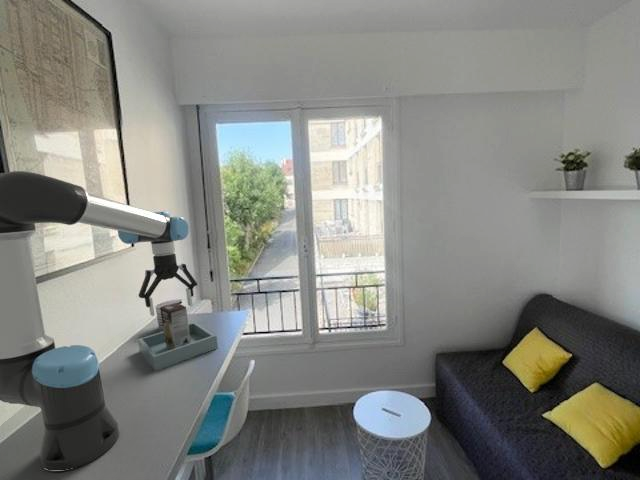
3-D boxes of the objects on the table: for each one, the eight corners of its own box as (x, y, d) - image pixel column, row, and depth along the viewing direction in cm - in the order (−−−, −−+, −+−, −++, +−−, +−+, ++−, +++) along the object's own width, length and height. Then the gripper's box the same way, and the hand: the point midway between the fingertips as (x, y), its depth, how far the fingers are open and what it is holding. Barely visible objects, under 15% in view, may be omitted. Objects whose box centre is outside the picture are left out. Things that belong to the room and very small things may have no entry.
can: (168, 334, 148) (164, 307, 146) (153, 330, 154) (149, 304, 152) (191, 324, 157) (187, 299, 156) (175, 321, 163) (172, 297, 162)
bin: (155, 371, 116) (153, 357, 115) (139, 351, 133) (137, 339, 132) (217, 348, 130) (216, 335, 129) (196, 333, 147) (194, 321, 146)
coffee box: (165, 347, 132) (159, 306, 130) (182, 341, 137) (176, 302, 134) (175, 353, 126) (168, 311, 123) (192, 347, 130) (186, 306, 128)
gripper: (194, 248, 137) (201, 299, 140) (123, 259, 121) (132, 317, 124) (201, 249, 131) (208, 303, 134) (128, 261, 115) (137, 322, 118)
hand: (172, 310), depth 129 cm, fingers open, 13 cm apart
